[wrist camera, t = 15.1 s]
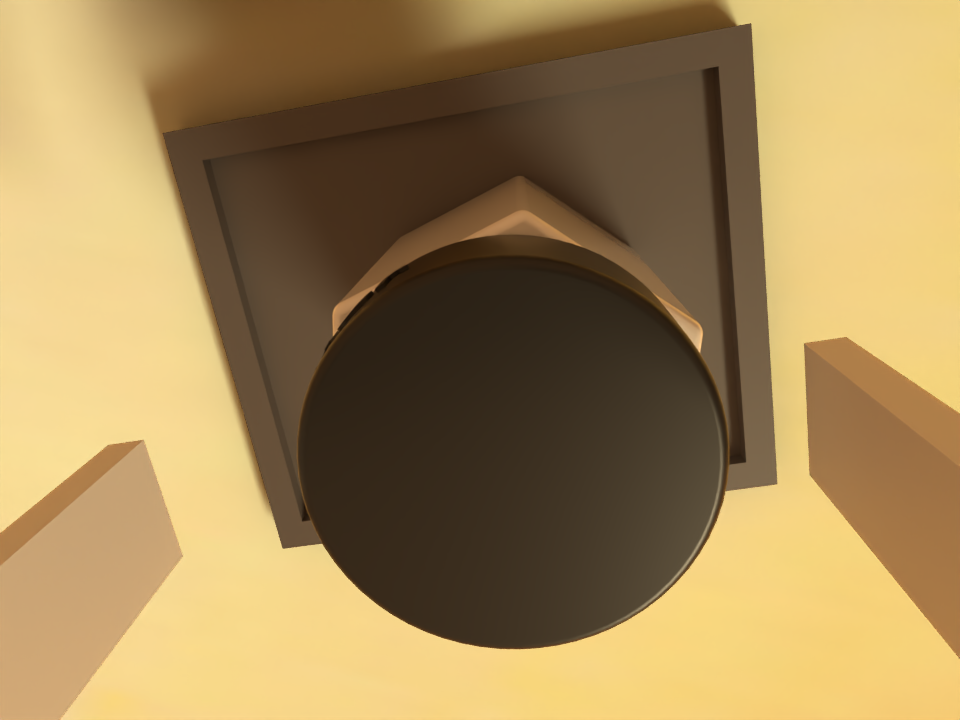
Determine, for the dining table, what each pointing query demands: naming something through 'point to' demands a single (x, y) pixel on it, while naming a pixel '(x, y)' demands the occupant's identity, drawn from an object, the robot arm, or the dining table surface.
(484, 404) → the jar
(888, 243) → the dining table surface
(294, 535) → the tray
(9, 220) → the dining table surface
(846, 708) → the dining table surface
